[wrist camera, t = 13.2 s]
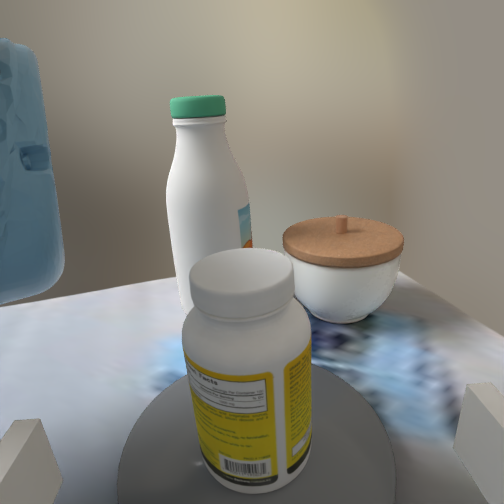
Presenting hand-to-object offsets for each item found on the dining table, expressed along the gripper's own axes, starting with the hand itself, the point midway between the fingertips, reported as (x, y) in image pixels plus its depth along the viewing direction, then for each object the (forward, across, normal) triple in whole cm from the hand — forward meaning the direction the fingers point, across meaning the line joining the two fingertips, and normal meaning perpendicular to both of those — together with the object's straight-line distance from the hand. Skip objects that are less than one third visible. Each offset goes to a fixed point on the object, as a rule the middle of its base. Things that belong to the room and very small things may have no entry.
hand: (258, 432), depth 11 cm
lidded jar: (+22, +9, -10) cm, 26 cm away
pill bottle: (+6, 0, -8) cm, 10 cm away
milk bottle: (+25, -3, -10) cm, 27 cm away
